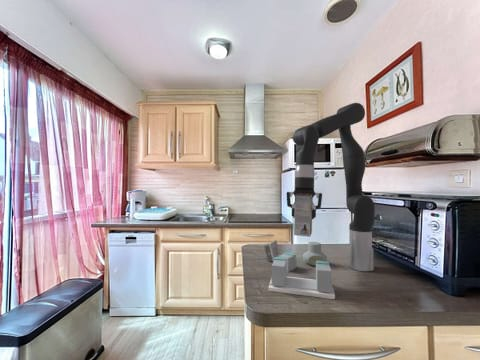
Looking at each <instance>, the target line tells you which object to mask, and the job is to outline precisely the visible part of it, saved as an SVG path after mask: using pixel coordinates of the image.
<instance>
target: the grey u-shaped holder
mask: <svg viewBox="0 0 480 360" xmlns="http://www.w3.org/2000/svg"><path fill="white" fill-rule="evenodd" d="M287 274H288V272H287V258H283V257H275V258H274V261H272V264H271V277H270V281H269V283H268V292H276V293H283V294H289V295H290V294H293V295H298V296H299V295H300V296H306V297H315V298H322V299H330V300H336V295H335V290H334V286H333V283H332V269H331V266H330V261H316V266H315V279H314V278H313V279H312V278H303V277H295V276H293V277H292V276H287Z"/></svg>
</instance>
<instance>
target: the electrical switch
mask: <svg viewBox="0 0 480 360" xmlns="http://www.w3.org/2000/svg"><path fill="white" fill-rule="evenodd" d="M263 247H264V250H265V254H266V258H267V261H268V262H270V263H271V262H273V261H274V258H275V257H278V256H279V255H281V253H280V249H279V246H278V241H277V239H276V240H272V241H270V242H269V243H267V244H265V245H264V246H263Z"/></svg>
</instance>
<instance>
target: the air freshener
mask: <svg viewBox="0 0 480 360" xmlns="http://www.w3.org/2000/svg"><path fill="white" fill-rule="evenodd" d="M302 258H303V261H304V262H305V263H306V264H308V265H310V266H313V267H316V261H327V260H328V258H327V256H326V254H325V253H324V252H322V244H321V242H318V241H309V242H308V243H307V251H305V252H304V253H303V254H302ZM327 262H328V261H327Z"/></svg>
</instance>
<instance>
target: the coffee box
mask: <svg viewBox="0 0 480 360" xmlns="http://www.w3.org/2000/svg"><path fill="white" fill-rule="evenodd" d="M313 198H314V197H313ZM313 198H312V194H295V196H294V202H295V214H294V218H293V219H294V223H293V235H294V236H300V237H308V238H309V237H311V235H312V233H313V219H312V209H313V208H312V201H313V202H314V199H313Z"/></svg>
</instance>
